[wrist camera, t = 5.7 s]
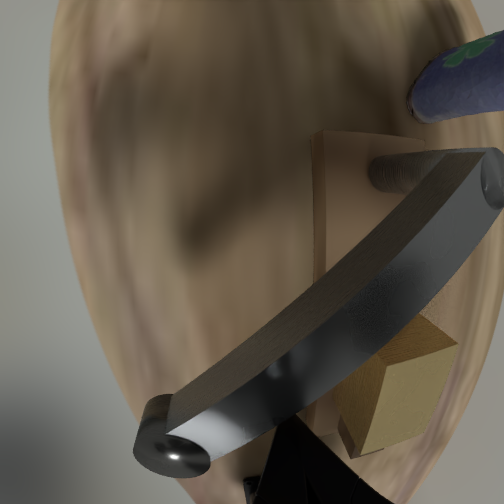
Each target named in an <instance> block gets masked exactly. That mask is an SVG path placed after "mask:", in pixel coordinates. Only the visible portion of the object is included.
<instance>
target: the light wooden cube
mask: <svg viewBox="0 0 504 504" xmlns="http://www.w3.org/2000/svg"><path fill="white" fill-rule="evenodd" d="M457 347H458V343H457V342H456V341H454V340H453V339H452V338H451V337H449V336H448V335H447V334H446V333H444V332H443V331H442V330H440V329H439V328H438V327H437V326H435V325H434V324H433V323H431V322H430V321H429V320H427V319H426V318H425V317H423V316H422V315H421V314H420V313H418V314H417V315H416V316H415V317H414V318H413V319H412V320H411V321H410V322H409V323H408V324H407V325H406V326H405V327H404V328H403V329H402V330H401V331H400V332H399V333H398V334H396V335H395V336H394V337H393V338H392V339H391V340H390V341H389V342H388V343H387V344H386V345H384V346H383V347H382V348H381V349H380V350H379V351H378V352H376V353H375V354H374V355H373V356H372V357H371V358H369V359H368V360H367V361H366V362H365V363H364V364H362V365H361V366H360V367H359V368H357V369H356V370H355V371H354V372H352V373H351V374H350V375H349V376H347V377H346V378H345V379H344V380H342V381H341V382H340V383H338V384H337V385H336V386H334V389H333V396H332V397H333V400H334V402H335V404H336V406H337V408H338V410H339V412H340V414H341V416H342V418H343V420H344V422H345V425H346V427H347V429H348V431H349V433H350V435H351V437H352V439H353V441H354V443H355V445H356V448H357V450H358V452H359V454H360V455H363V454H366V453H370V452H373V451H376V450H379V449H382V448H385V447H388V446H391V445H394V444H396V443H399V442H402V441H404V440H407V439H409V438H412V437H414V436H417V435H419V434H422V433H424V431H425V429H426V427H427V425H428V423H429V421H430V419H431V416H432V414H433V412H434V410H435V407H436V405H437V403H438V400H439V398H440V396H441V393H442V391H443V388H444V385H445V383H446V380H447V377H448V375H449V372H450V369H451V366H452V363H453V360H454V357H455V354H456V351H457Z"/></svg>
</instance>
